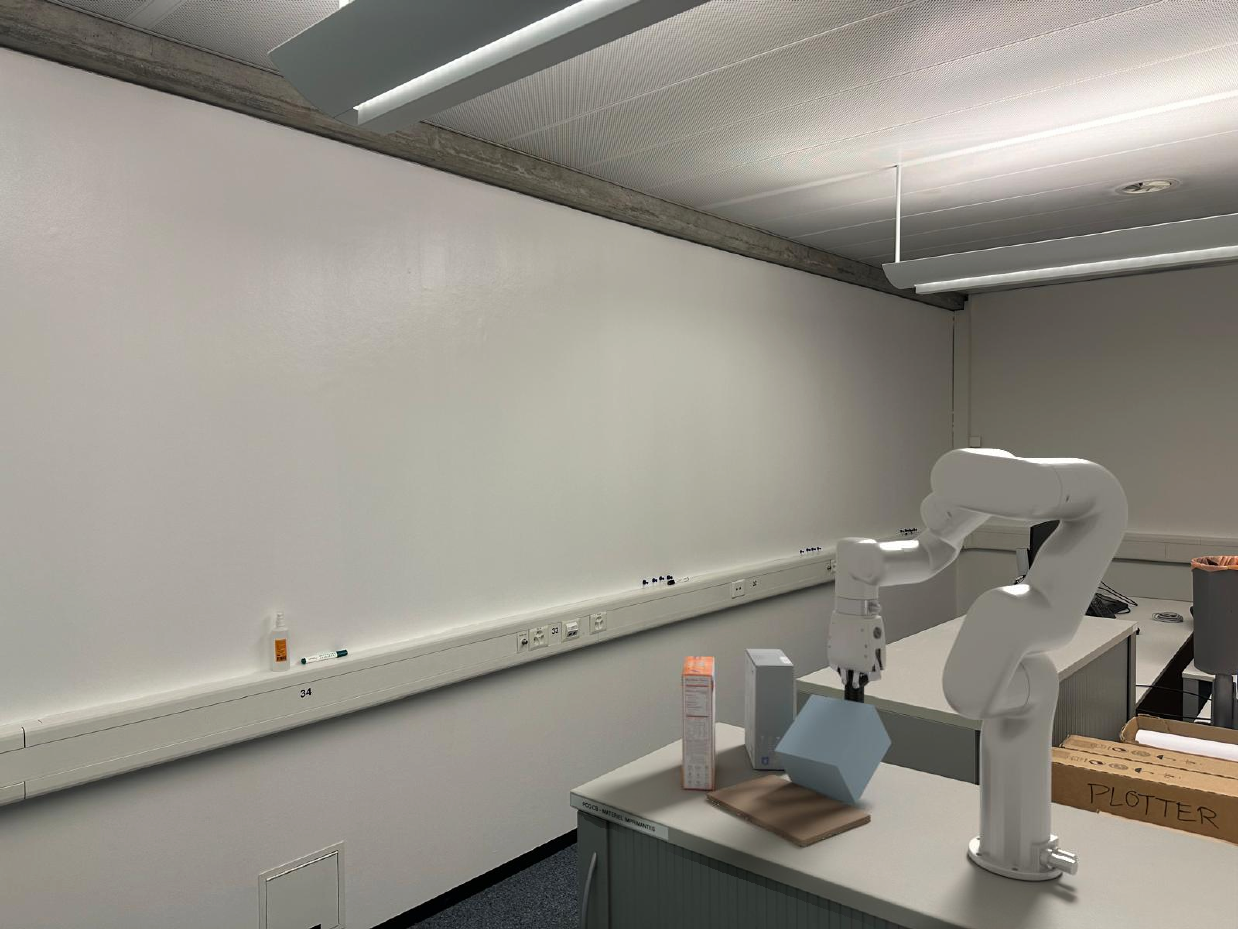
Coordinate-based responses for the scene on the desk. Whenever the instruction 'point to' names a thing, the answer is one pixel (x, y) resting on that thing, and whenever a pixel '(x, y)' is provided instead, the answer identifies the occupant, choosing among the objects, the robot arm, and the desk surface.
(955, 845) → the desk surface
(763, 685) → the hard drive box
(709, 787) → the cracker box
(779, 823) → the thin wooden board
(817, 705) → the carton
